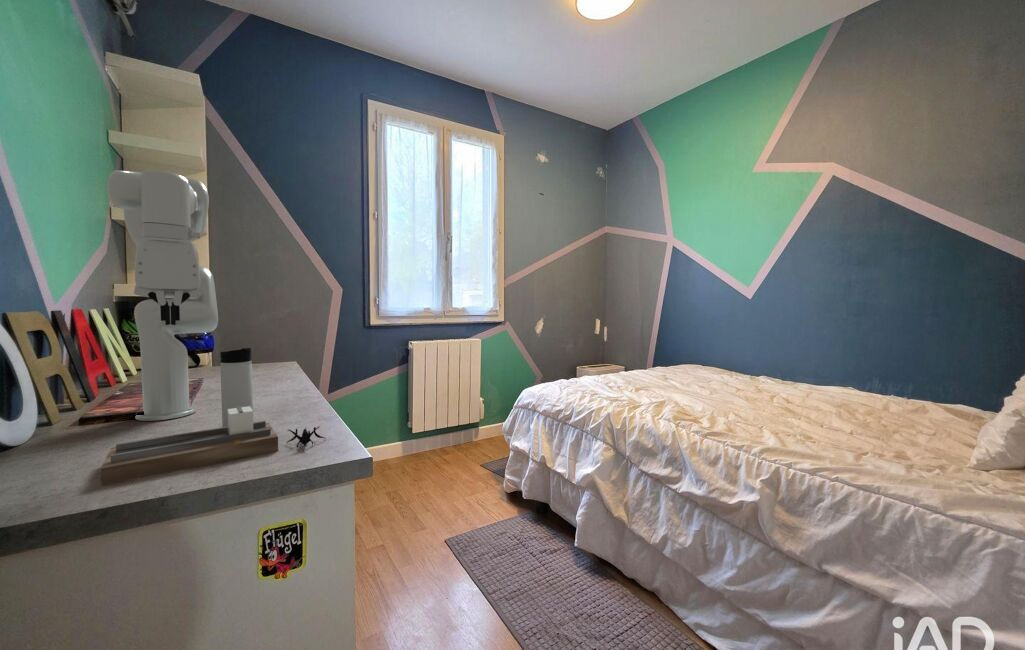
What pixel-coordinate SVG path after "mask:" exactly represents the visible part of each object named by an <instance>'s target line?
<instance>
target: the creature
mask: <svg viewBox="0 0 1025 650" xmlns="http://www.w3.org/2000/svg"><path fill="white" fill-rule="evenodd" d="M319 428H321V426H317V427H316V426H314V427H313V430H312V431H310V430H307V428H304V429H303V430H302V435H301V436H300V435H298V428H296V429H295V431H293V430H291V429H287V430H286V431H288V432H291V433H292V434H293V435H294V436H293V437H292V438H290V439H289V440H287V441H286V442H285V443H286V444H288V443H289V442H292V441H294V440H296V439H298V442H297V444H295V446H296V448H299V445H300V444H302V445H303V446H304V447H306V446H307V444H308V443H310V442H311V444H312V446H313V444H314V445H315V444H316V442H314V441H312V439H311V437H312V435H313V434H314V436H315V437H316V438H319V439H325V440H326V437H324V436H322V435H320V434H318V433H317V432H316V430H318V429H319ZM313 442H314V443H313Z"/></svg>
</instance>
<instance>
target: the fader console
mask: <svg viewBox="0 0 1025 650" xmlns="http://www.w3.org/2000/svg"><path fill="white" fill-rule="evenodd" d="M277 451H278V452H279V436H278V434H277V433H276V432H275V430H274V429H273V427H272V426H271V424H270V422H266V420H261V421H256V422H255V421H253V431H251V432H245V433H239V434H233V435H229V433H228V427H217V428H210V429H204V430H197V431H191V432H184V433H177V434H171V435H164V436H158V437H151V438H146V439H139V440H132V441H126V442H119V443H116V444H115V447H110V449H109V451H108V453H107V454H106V455H107V456H106V457H105V459H104V461H103V463H102V465H101V467H100V482H101V486H108V485H113V484H119V483H123V482H128V481H133V480H137V479H142V478H146V477H153V476H158V475H162V474H167V473H172V472H177V471H183V470H188V469H193V468H198V467H203V466H208V465H212V464H218V463H222V462H223V463H224V462H227V461H233V460H238V459H243V458H248V457H253V456H254V457H255V456H257V455H263V454H268V453H273V452H277Z"/></svg>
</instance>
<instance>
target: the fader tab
mask: <svg viewBox="0 0 1025 650" xmlns="http://www.w3.org/2000/svg"><path fill="white" fill-rule="evenodd" d="M253 423H254V410H253V411H252V409H251V407H250V406H248V407H241V406H239V407H237V408H232V409H228V433H229V435H233V434H239V433H245V432H251V431H253Z"/></svg>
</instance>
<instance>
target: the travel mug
mask: <svg viewBox="0 0 1025 650" xmlns="http://www.w3.org/2000/svg"><path fill="white" fill-rule="evenodd" d="M219 354H220V355H219V356H220V357H219V358H220V363H219V364H220V394H221V396H220V397H221V400H220V401H221V423H222V425H221V426H222V427H228V409H232V408H237V407H239V406H241V407H248V406H250V407H251V409H252V411H253V412H254V396H253V392H254V391H253V365H252V362H253V361H252V348H251V347H242V348H240V349H233V350H227V351H220V353H219ZM222 427H221V428H222Z"/></svg>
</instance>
